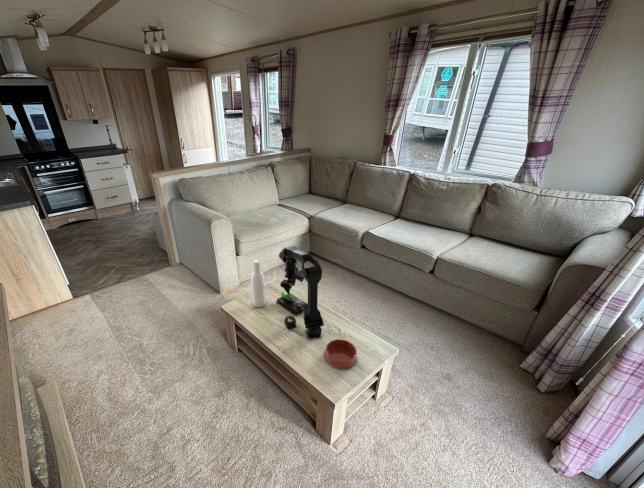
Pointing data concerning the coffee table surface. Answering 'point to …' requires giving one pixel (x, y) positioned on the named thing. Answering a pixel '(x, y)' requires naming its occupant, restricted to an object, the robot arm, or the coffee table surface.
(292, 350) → the coffee table surface
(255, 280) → the bottle
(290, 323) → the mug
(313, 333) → the robot arm
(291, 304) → the stove
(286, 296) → the cucumber
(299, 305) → the stove knob
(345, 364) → the red bowl
